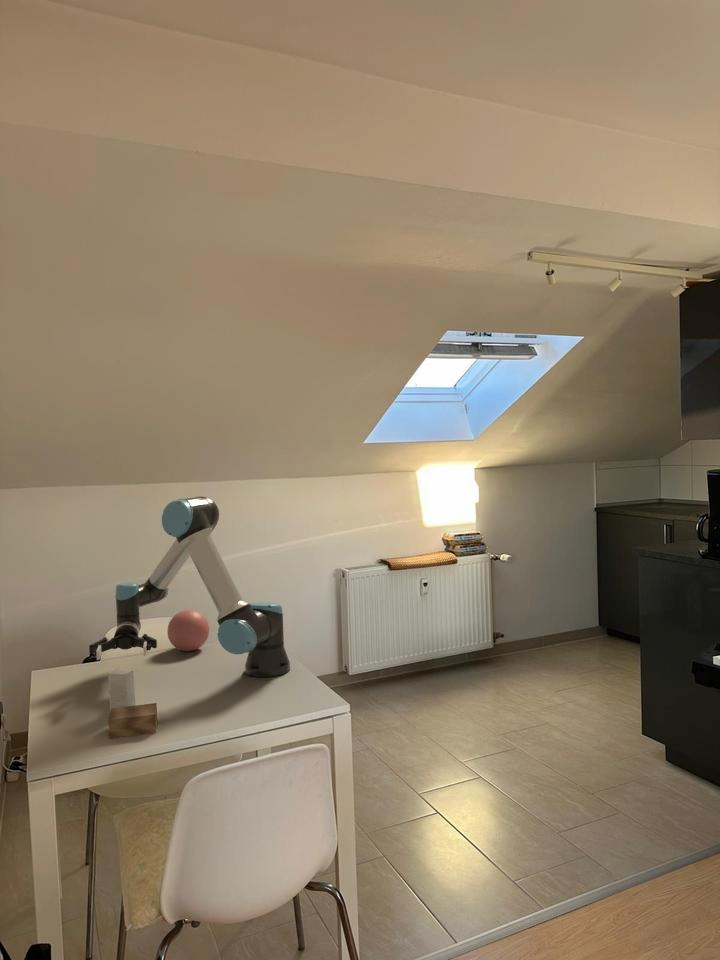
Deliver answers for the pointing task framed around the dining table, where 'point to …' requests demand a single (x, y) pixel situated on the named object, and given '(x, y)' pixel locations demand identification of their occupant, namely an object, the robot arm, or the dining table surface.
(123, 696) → the skincare box
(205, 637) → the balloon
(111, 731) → the block
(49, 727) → the dining table surface
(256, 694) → the dining table surface
